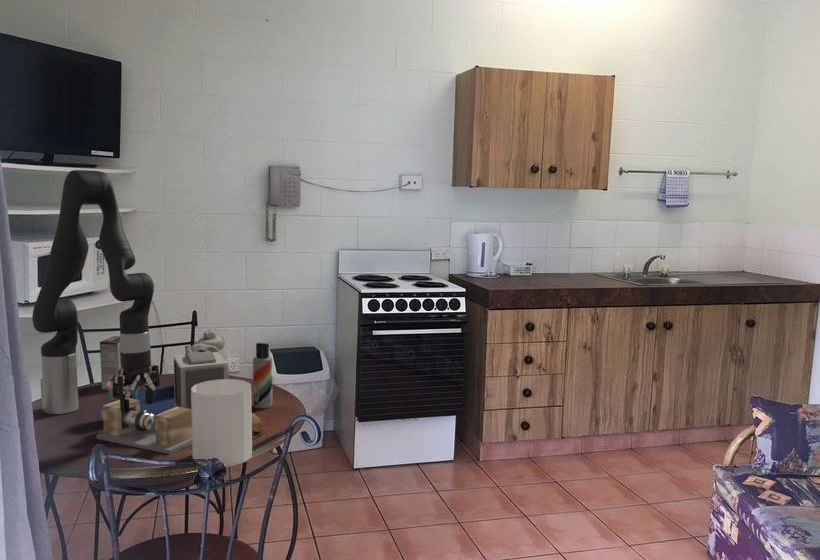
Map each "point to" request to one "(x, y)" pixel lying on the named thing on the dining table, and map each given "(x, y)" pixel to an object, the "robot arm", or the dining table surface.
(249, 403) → the container
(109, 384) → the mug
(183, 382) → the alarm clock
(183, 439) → the socket block
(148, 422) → the tube
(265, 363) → the lotion bottle
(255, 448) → the dining table surface
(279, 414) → the dining table surface
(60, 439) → the dining table surface
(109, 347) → the coffee box
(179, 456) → the dining table surface
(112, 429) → the guide block
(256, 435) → the bread roll
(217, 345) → the grey lumpy piece
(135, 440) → the base mat
